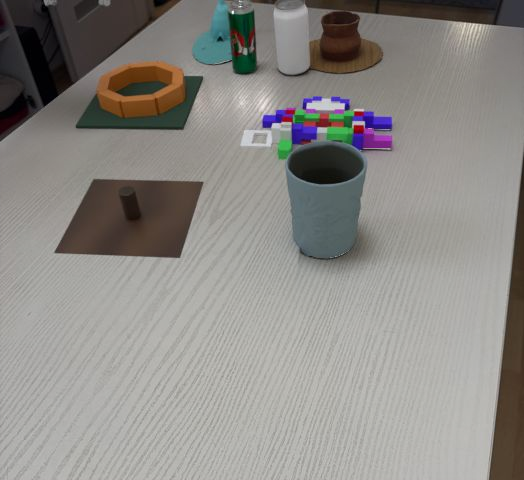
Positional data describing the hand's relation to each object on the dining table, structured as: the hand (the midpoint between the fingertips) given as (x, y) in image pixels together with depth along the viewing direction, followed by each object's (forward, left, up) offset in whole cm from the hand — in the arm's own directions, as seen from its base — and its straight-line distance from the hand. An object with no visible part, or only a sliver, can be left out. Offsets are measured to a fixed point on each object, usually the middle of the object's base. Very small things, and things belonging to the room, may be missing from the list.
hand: (78, 5), depth 91 cm
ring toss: (+15, -35, -17) cm, 42 cm away
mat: (+7, +1, -17) cm, 18 cm away
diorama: (+18, +27, -17) cm, 37 cm away
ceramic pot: (+44, +22, -17) cm, 52 cm away
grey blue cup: (+43, -38, -17) cm, 60 cm away
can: (+35, +15, -17) cm, 42 cm away
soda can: (+25, +15, -17) cm, 34 cm away
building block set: (+41, -9, -17) cm, 46 cm away
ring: (+7, +2, -16) cm, 18 cm away
